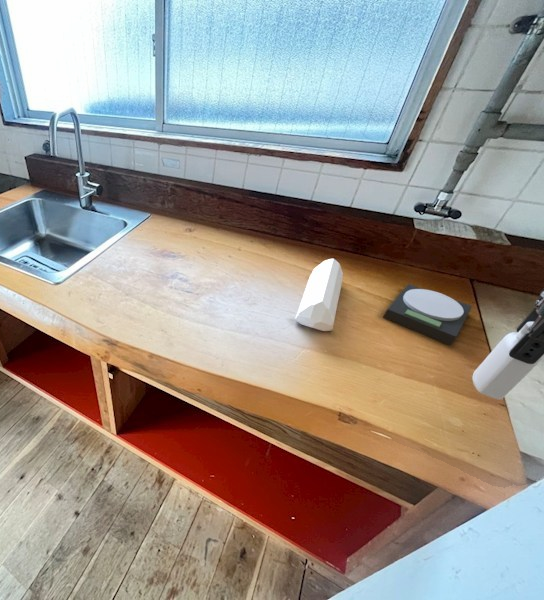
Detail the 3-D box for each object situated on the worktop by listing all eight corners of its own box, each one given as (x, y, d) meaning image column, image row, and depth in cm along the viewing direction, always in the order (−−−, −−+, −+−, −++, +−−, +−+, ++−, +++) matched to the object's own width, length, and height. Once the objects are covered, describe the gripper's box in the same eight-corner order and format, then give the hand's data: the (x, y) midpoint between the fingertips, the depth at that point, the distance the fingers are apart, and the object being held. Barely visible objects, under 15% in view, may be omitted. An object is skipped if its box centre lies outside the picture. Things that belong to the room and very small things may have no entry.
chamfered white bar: (346, 328, 63) (355, 270, 79) (317, 304, 64) (332, 252, 80) (316, 344, 69) (330, 287, 85) (290, 322, 69) (309, 270, 85)
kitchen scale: (466, 314, 71) (474, 303, 69) (449, 345, 64) (458, 333, 62) (403, 291, 79) (409, 280, 77) (382, 317, 71) (389, 306, 69)
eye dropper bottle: (519, 389, 44) (588, 323, 37) (494, 404, 42) (561, 337, 35) (481, 367, 47) (538, 302, 40) (457, 380, 45) (511, 314, 38)
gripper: (729, 259, 24) (562, 397, 34) (702, 207, 31) (571, 334, 42) (580, 230, 29) (471, 359, 39) (586, 190, 36) (494, 308, 46)
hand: (523, 345), depth 40 cm, fingers closed on eye dropper bottle, 5 cm apart
